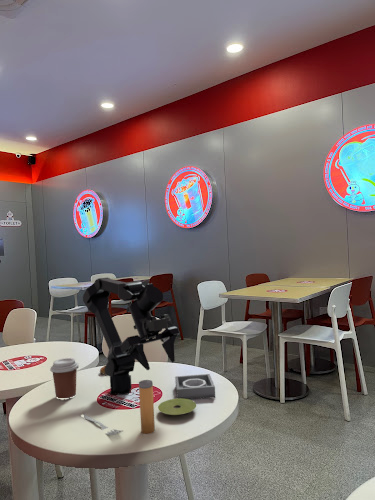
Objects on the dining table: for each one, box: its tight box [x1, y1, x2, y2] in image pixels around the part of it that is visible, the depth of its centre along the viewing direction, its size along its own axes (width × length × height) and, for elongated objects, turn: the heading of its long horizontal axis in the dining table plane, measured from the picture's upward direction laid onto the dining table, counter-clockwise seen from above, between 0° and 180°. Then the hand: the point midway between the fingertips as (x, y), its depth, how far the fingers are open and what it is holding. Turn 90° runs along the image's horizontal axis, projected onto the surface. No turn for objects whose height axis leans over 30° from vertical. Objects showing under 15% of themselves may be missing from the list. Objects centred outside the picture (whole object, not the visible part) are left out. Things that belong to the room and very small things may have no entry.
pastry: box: [99, 365, 106, 375], centre depth 152 cm, size 9×7×4 cm
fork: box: [83, 414, 124, 436], centre depth 108 cm, size 3×24×2 cm, turn 44°
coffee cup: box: [49, 357, 80, 398], centre depth 128 cm, size 9×9×12 cm
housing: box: [174, 373, 216, 400], centre depth 127 cm, size 12×12×4 cm
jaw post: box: [138, 379, 156, 435], centre depth 102 cm, size 4×4×13 cm
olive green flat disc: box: [157, 398, 197, 416], centre depth 112 cm, size 11×11×2 cm
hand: (161, 365), depth 112 cm, fingers open, 9 cm apart
